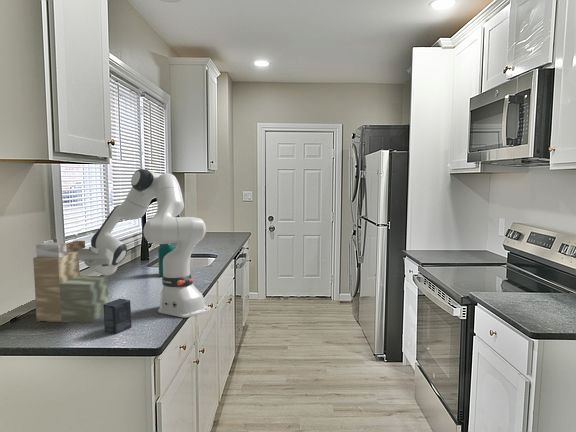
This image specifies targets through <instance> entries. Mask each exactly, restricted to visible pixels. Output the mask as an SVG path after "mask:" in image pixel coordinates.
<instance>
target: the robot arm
mask: <svg viewBox="0 0 576 432" xmlns="http://www.w3.org/2000/svg"><path fill="white" fill-rule="evenodd" d="M130 182H131V189H129V192H128V194H127V195H126V197H125V200H124V201H123V202H122V203H121V204H117V205H116V206H115V207H114V208H113V209H111V212H110V213H109V214H108V216H107V217H106V219H105V220H104V222H103V223H102V224H101V226H100V227H99V228H98V230H97V231H96V232H95V233H94V234H93V235H92V237H91V239H90V245H91V246H89V247H88V248H83V249H79V250H76V251H73V252H79V262H80V261H82V262H84V264H85V266H87V267H89V268H90V269H92V270H93V271H95V272H96V273H98V274H99V275H101V276H111V275H114V274H115V272H116V271H117V269H118V266H119V264H120V263H122V261H124V259H125V258H126V256H127V253H128V246H127V245H126V243H123V242H122V241H121V240H119V239H117V237H114V236H112V231H113V229H114V228H115V226H116V225H117V224H118V222H119V221H120V220H124V219H125V220H138V219H141V218H142V217H144V215H145V214H146V212H147V210H148V208H149V206H150V204H151V202H152V199H153V198H155V199H156V204H157V211H156V213H155V214H154V216H153V217H152V218H150V219H148V220H147V221H146V223H144V227H143V237H144V238H145V240H146V241H147V242H148V243H149V244H153V245H154V244H156V245H160V244H171V245H173V244H176V245H175V247H176V248H175V249H174V250H173V251H171V252H169V253H168V254H166V255H165V257H164V258H163V276H162V277H161V283H162V290H161V292H160V301H159V308H158V310H157V313H159V314H163V315H167V316H174V317H177V318H192V317H193V318H194V317H197V316H200V315H204V314H206V313H208V312H209V311H210V310H211V307H209V306H208V305H206V304H205V298H204V296H203V293H202V292H200V291H199V290H198V288H197V287H196V286H195V285H194V281H195V280H194V279H195V278H194V277H192V275H191V270H190V269H191V257H192V256H191V255H192V253H193V251H194V249H195V247H196V246H197V244H198V243H199V242H200V241H202V240H203V239H204V238H205V236H206V233H207V225H206V223H205V221H204V220H203V219H202V218H200V217H193V216H180V217H179V215H180V214H181V213H182V212H183V210H184V208H185V202H184V198H183V194H182V193H183V192H182V189H181V186H180V184H179V181H178V179H177V178H176V176H175V175H174V174H172V173H168V172H167V173H166V172H165V173H163V174H160V173H157V172H155V171H154V172H153V171H149V170H148V169H143V168H139V169H137V170H135V171H134V173H133V174H132V176H131V181H130Z"/></svg>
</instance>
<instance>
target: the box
mask: <svg viewBox="0 0 576 432" xmlns="http://www.w3.org/2000/svg"><path fill="white" fill-rule="evenodd" d="M103 306H104V315H103V321H104V323H103V324H104V332H105V333H108V334H112V333H113V335H118V334H119V333H122V332H124V331H126V330H129V329H130V328H132V312H131V311H132V307H131V299H125V298H118V299H115V300H112V301H109V303H106V304H103Z"/></svg>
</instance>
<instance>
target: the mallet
mask: <svg viewBox="0 0 576 432" xmlns="http://www.w3.org/2000/svg"><path fill="white" fill-rule="evenodd" d="M35 247H36V248H35V250H36V252H35V253H36V257H43V258H60V257H63V256H66V255H67V253H70V252H73V251H76V250H79V249H86V240H75V241H74V240H73V241H71V242H67V243H66V242H41V243H37V244H35Z"/></svg>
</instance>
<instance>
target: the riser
mask: <svg viewBox="0 0 576 432" xmlns="http://www.w3.org/2000/svg"><path fill="white" fill-rule="evenodd" d="M32 260H33V261H32V262H33V276H34V277H33V280H34V294H35V295H34V296H35V315H36V322H40V321H47V322H46V323H49V322H51V323H81V324H82V323H85V324H90V323H93V322H95V321H97V320H98V319H99V318H101V317H102V316H103V317H104V306H103V304H106V303H109V302H110V301H109V282H108V281H109V280H108V277H109V275H80V274H81V273H80V261H79V252H70V253H67V255H66V256H63V257H60V258H43V257H37V256H35V257H33V258H32Z"/></svg>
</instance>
